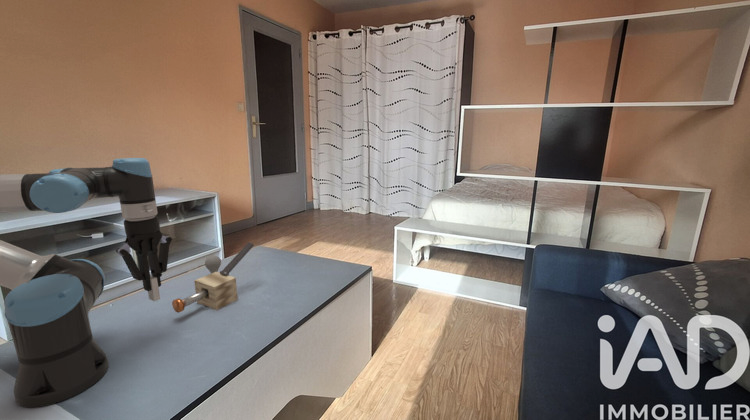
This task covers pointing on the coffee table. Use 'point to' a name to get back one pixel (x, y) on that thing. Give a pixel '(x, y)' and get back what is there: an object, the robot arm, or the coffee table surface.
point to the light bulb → (213, 263)
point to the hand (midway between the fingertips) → (154, 299)
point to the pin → (188, 300)
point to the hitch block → (217, 290)
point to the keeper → (236, 259)
